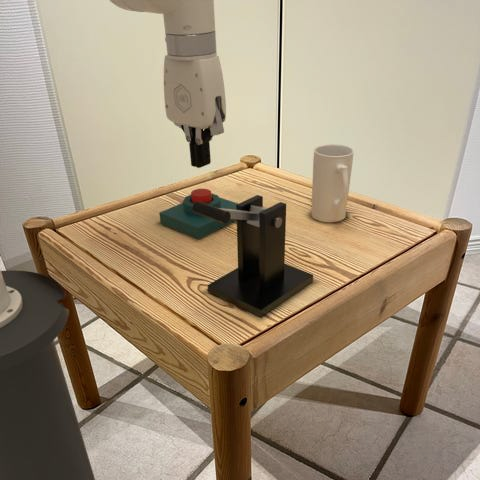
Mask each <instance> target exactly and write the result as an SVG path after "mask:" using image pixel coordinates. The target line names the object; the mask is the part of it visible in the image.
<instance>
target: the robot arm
mask: <svg viewBox="0 0 480 480" xmlns="http://www.w3.org/2000/svg"><path fill="white" fill-rule="evenodd" d="M109 2H110V3H112V4H113V5H114V6H116V7H118V8H120V9H122V10H124V11H129V12H138V13H150V14H157V15H159V14H160V15H162V16H163V17H162V18H163V24H164V26H163V27H164V35H165V36H164V41H165V43H166V44H165V45H166V54H165V55H164V59H163V97H164V109H165V115H166V118H167V120H169V121H170V122H172V123H173V124H174V126H176V127H178V128H179V129H181V130H182V132H183V134H184V136H185V140H186V142H188V146H189V155H190V165H191V167H194V168H197V169H201V168H203V167H206V166H208V165H211V162H212V159H211V145H210V142H211V141H212V140H213V137H214V136H219V135H222V134H224V133H225V128H224V122H225V121H226V119H227V102H226V91H225V82H224V75H223V70H222V64H221V60H220V55H218V53H217V36H216V34H217V33H216V20H215V19H216V17H215V0H109ZM1 271H2V270H1V269H0V328H2V327H3V326H5V325H7V324H8V323H10V322H11V321H12V320H13V319H15V318H16V317H17V315H18V314H19V313H20V311H21V310H22V307H23V300H22V297H21V295H20V293H19V292H18V291H17V290H15V289H13V288H11V287H8V286H6V285H5V282H4V279H3V276H2V273H1Z"/></svg>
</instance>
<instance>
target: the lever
mask: <svg viewBox="0 0 480 480" xmlns="http://www.w3.org/2000/svg"><path fill="white" fill-rule="evenodd" d="M267 208H268V207H265V206H263V207H262V206H253V205H251V207H250V211H243V210H233V209H223V208H216V207H214V206H211V205H208V204H205V203H202V202H199V201H196V202H195V203H194V204H193V212H194V213H197V214H200V215H202V216H205V217H208V218H210V219H213V220H216V221H219V222H221V223H224V224H226V223H228V222H229V221H230V219H238V220H247V223H248V224H251V225H254V226H257V227H259V213H260V212H261V211H263V210H265V209H267Z"/></svg>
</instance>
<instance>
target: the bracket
mask: <svg viewBox="0 0 480 480" xmlns="http://www.w3.org/2000/svg"><path fill="white" fill-rule="evenodd" d="M251 205H253V206H262V207H264V196H262V195H260V194H256V195H254V196H252V197H250V198H247V199H245V200H243V201H241V202H239V203H238V204H237V205H236V210H243V211H250V207H251ZM266 208H267V209H265V210H263V211H261V212H260V213H259V227H257V226H254V225H251V224H248V223H247V220H238V219H237V221H236V246H237V248H236V249H237V267H236V268H234V269H233V270H231V271H230V272H228V273H226V274H224V275H222V276H221V277H219V278H217V279H216V280H214V281H212V282H210V283H208V284H207V293H209V294H211V295H213V296H215V297H218V298H219V299H222V300H223V301H226V302H228V303H230V304H232V305H234V306H236V307H238V308H240V309H242V310H244V311H247V312H249V313H251V314H252V315H255V316H257V317H259V318H263V317H264V316H265V315H267V314H269V313H270V312H271V311H273V310H274V309H276V308H278V306H280V305H281V304H283V303H285V302H286V301H287V300H289V299H290V298H292V297H293V296H294V295H296V294H297V293H299V292H300V291H302V290H303V289H304V288H306V287H307V286H310V284H312V283H313V282H314V274H312V273H310V272H307V271H305V270H303V269H300V268H297V267H295V266H292V265H289V264H287V263H286V230H287V229H286V228H287V227H286V226H287V203H285V202H282V201H279V202H278V203H275V204H273V205H272V206H269V207H266Z"/></svg>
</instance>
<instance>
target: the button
mask: <svg viewBox="0 0 480 480" xmlns="http://www.w3.org/2000/svg"><path fill="white" fill-rule="evenodd" d="M211 193H212V190H211V189H208V188H196V189H193V190H192V191H191V192H190V195H191V199H192V203H195V202H196V201H199V202H202V203H205V204H207V203H210V202H212V196H211Z"/></svg>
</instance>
